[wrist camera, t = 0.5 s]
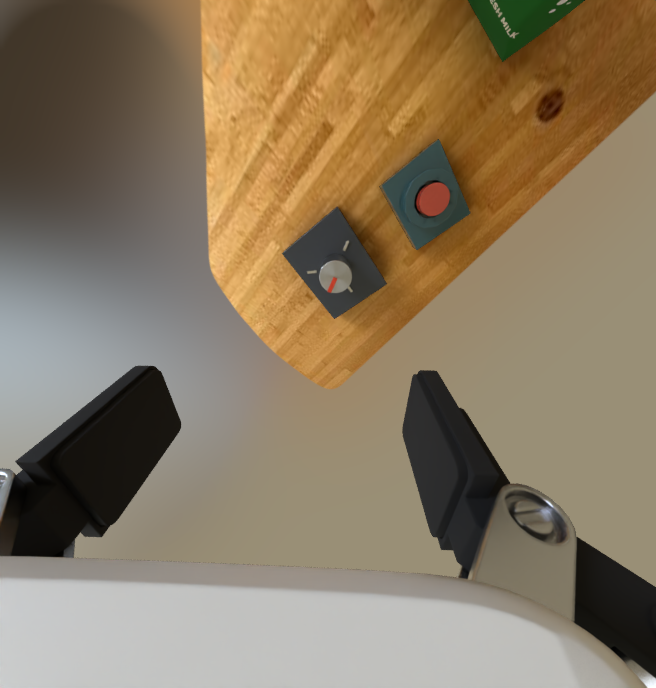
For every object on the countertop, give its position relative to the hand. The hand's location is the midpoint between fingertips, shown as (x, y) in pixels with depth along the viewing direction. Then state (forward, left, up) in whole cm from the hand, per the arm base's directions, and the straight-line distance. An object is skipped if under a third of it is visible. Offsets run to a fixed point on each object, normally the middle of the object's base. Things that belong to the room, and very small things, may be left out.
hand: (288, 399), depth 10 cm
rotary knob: (+3, 0, -31) cm, 31 cm away
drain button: (+3, +15, -30) cm, 34 cm away
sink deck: (+3, 0, -34) cm, 34 cm away
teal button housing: (+3, +15, -34) cm, 37 cm away
